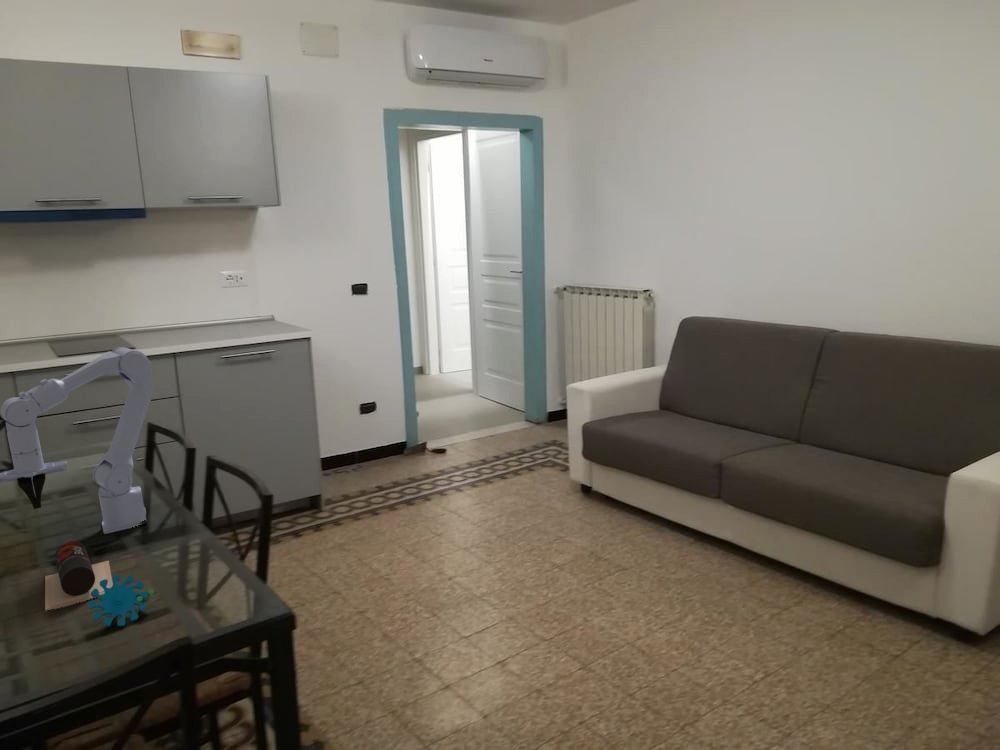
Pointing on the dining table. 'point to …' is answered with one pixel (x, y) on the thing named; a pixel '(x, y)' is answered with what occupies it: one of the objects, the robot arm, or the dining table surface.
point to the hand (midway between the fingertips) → (37, 506)
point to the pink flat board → (60, 599)
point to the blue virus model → (119, 600)
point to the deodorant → (74, 568)
